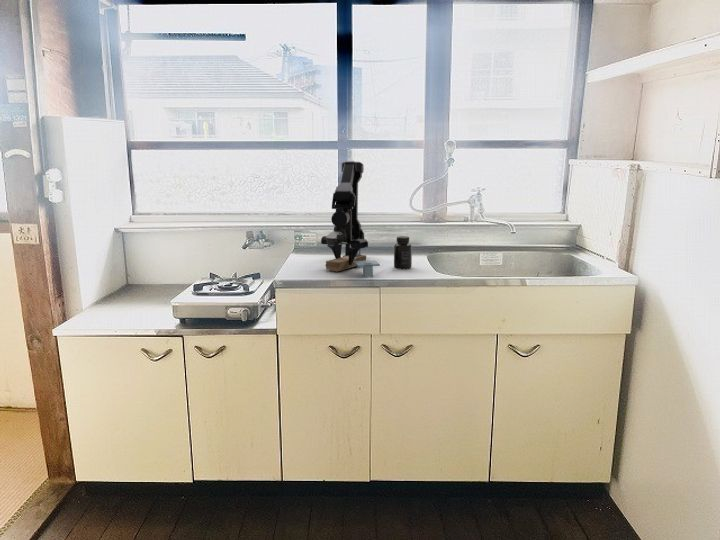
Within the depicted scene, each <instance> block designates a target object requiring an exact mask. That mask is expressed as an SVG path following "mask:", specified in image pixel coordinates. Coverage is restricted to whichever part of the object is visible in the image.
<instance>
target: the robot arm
mask: <svg viewBox="0 0 720 540" xmlns="http://www.w3.org/2000/svg"><path fill="white" fill-rule="evenodd" d="M364 168H365V167H364V164H363V163H362V162H361V161H355V160H345V161H343V162H342V163H341V179H340V184H338V186H336V187H335V191H334V192H333V195H332V201H331V209H332V210H335V212H334V213H333V214H332V215H331V218H330V219H331V223H332V224H333V226H334V227H333V231H332V232H330V233H328V234H327V235H324V236H323V235H322V236H321V238H320V245H326V246H327V247H328V248H329V249H331V251H332V253H333V255H334V259H337V258H340V257H344V256H348V255H349V265H352V263H353V260H354V258H355V256H356V254H357V252H358V251H359V254H360V255H361V249H365V248H368V247H369V241H368V240H367V239H365V233H364V229H363V228H362V223H360V221H359V219H358V218H359V217H358V215H359V214H358V213H359V209H358V208H359V207H358V205H359V200H358V199H359V182H361V180H362V178H363V174H364ZM343 245H345V247H344V255H342V248H343V247H342V246H343Z"/></svg>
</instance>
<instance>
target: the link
mask: <svg viewBox="0 0 720 540" xmlns="http://www.w3.org/2000/svg"><path fill="white" fill-rule="evenodd" d="M343 256H344V255H343ZM343 256H341V257H340V258H337V259H336V258H334V259H329V260H325V270H326V271H333V272H336V273H337V272H341V271H344V270H347V269H351V268H354V267H357V266H356V265H355V264H354V261H365V260H367V255H366V254H361V253H360V254H359V257H355V258H354V260H353V263H352V265H349V255H348V256H344V257H343Z"/></svg>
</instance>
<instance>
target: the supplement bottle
mask: <svg viewBox="0 0 720 540" xmlns="http://www.w3.org/2000/svg"><path fill="white" fill-rule="evenodd" d="M412 253H413V247H412V244H410V237H409V236H407V235H406V236H405V235H403V236H402V235H401V236H400V235H399V236H397V237H396V244H394V245H393V267H394V269H396V270H409V269H411V268H412V267H413V266H412V265H413V264H412V263H413V261H412V259H413V257H412V256H413V254H412Z"/></svg>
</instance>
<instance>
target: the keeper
mask: <svg viewBox="0 0 720 540" xmlns="http://www.w3.org/2000/svg"><path fill="white" fill-rule="evenodd" d="M354 264H355V265H356V266H355V267H358V268H362V276H363V275H364V276H365V277H364V276H363V277H364V278H368V277H367V276H373V277H374V267H380V266H381V265H380V264H381V263H379V262H378V261H377V260H375V259H373V260H372V259H370V260H367V259H366V260H365V261H354Z"/></svg>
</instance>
